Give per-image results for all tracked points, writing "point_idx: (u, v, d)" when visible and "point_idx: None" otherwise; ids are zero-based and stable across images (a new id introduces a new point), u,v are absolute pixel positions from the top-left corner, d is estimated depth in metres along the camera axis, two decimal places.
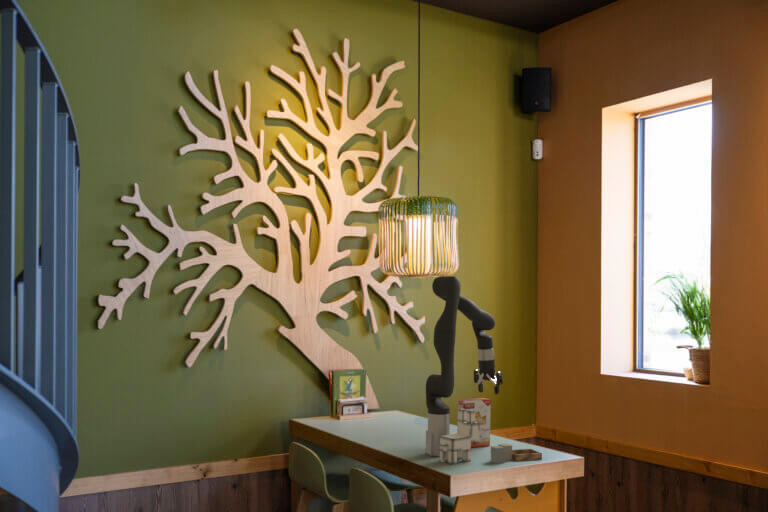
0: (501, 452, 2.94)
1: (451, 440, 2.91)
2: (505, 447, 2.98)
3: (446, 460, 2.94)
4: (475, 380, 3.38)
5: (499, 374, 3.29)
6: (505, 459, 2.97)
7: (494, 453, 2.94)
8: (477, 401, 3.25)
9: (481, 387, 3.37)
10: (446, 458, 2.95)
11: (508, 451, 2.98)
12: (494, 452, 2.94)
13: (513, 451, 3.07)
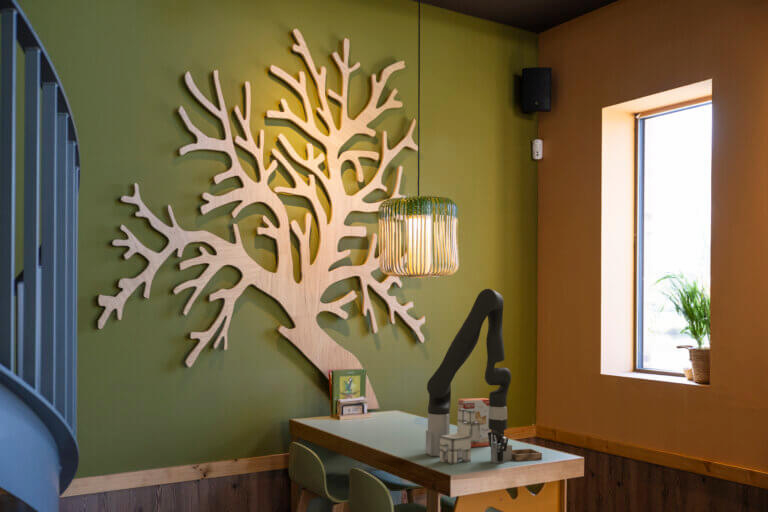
0: None
1: (451, 440, 2.91)
2: None
3: (446, 460, 2.94)
4: (490, 444, 2.99)
5: (504, 441, 2.90)
6: (505, 459, 2.97)
7: (494, 453, 2.94)
8: (477, 401, 3.25)
9: None
10: (446, 458, 2.95)
11: (508, 451, 2.98)
12: (494, 452, 2.94)
13: (513, 451, 3.07)
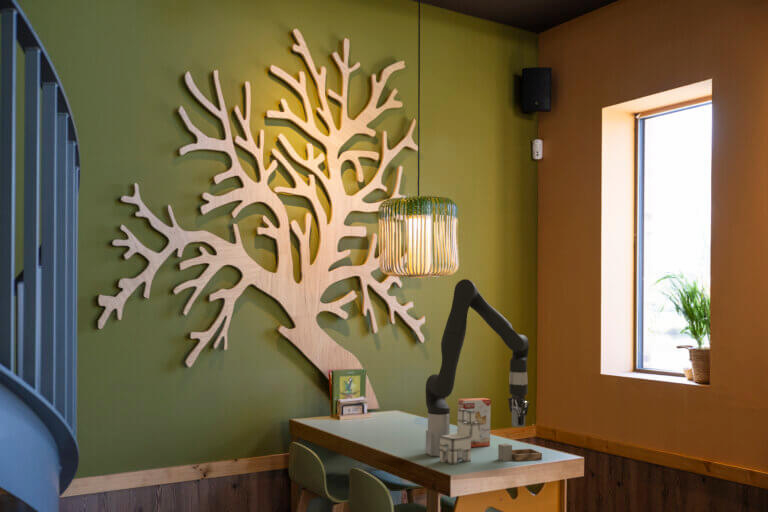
0: None
1: (451, 440, 2.91)
2: (505, 447, 2.98)
3: (446, 460, 2.94)
4: (510, 409, 3.07)
5: (525, 405, 2.98)
6: (505, 459, 2.97)
7: (515, 417, 3.02)
8: (477, 401, 3.25)
9: None
10: (446, 458, 2.95)
11: (508, 451, 2.98)
12: (515, 416, 3.02)
13: (513, 451, 3.07)
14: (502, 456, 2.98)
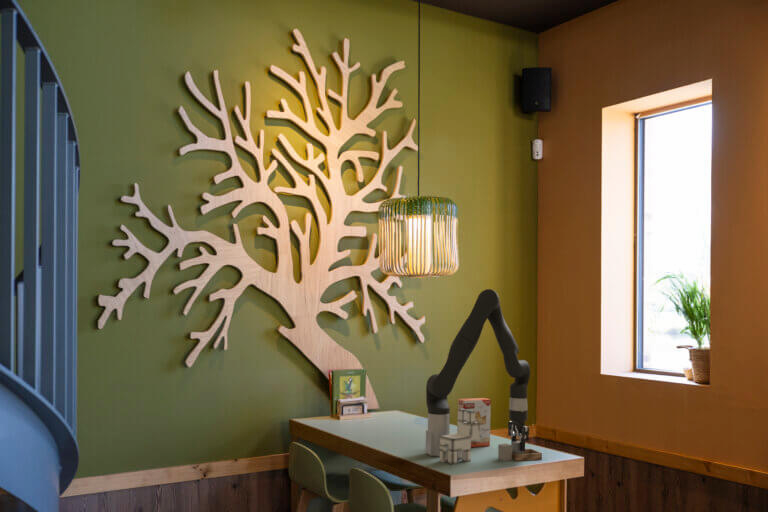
0: None
1: (451, 440, 2.91)
2: (505, 447, 2.98)
3: (446, 460, 2.94)
4: (509, 433, 3.08)
5: (525, 429, 2.97)
6: (505, 459, 2.97)
7: (515, 448, 3.01)
8: (477, 401, 3.25)
9: None
10: (446, 458, 2.95)
11: (508, 451, 2.98)
12: (515, 447, 3.01)
13: None
14: (502, 456, 2.98)
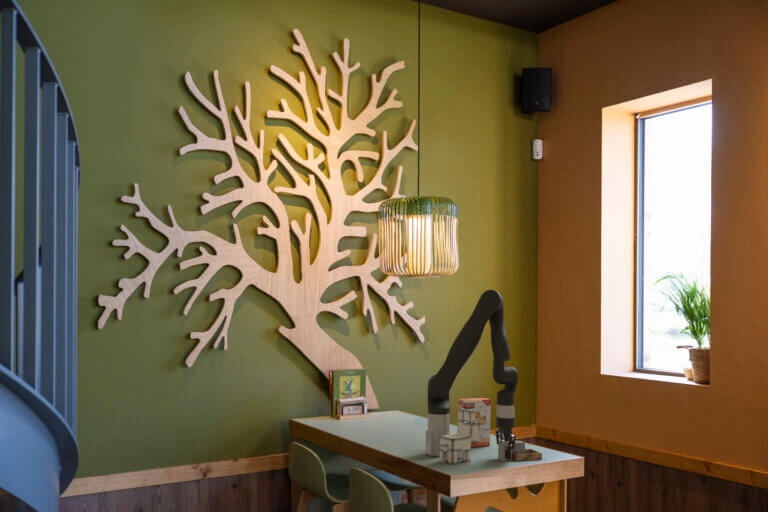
0: (522, 447, 3.01)
1: (451, 440, 2.91)
2: None
3: (446, 460, 2.94)
4: (497, 442, 3.04)
5: (512, 438, 2.94)
6: (505, 459, 2.97)
7: (515, 448, 3.01)
8: (477, 401, 3.25)
9: None
10: (446, 458, 2.95)
11: None
12: (515, 447, 3.01)
13: None
14: (502, 456, 2.98)
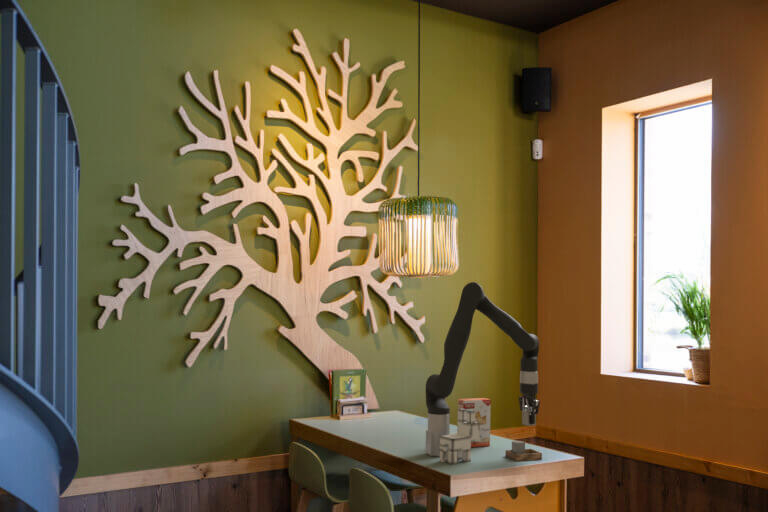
0: (522, 447, 3.01)
1: (451, 440, 2.91)
2: None
3: (446, 460, 2.94)
4: (521, 408, 3.09)
5: (536, 404, 2.99)
6: (529, 424, 3.03)
7: (515, 448, 3.01)
8: (477, 401, 3.25)
9: None
10: (446, 458, 2.95)
11: None
12: (515, 447, 3.01)
13: None
14: (526, 421, 3.04)
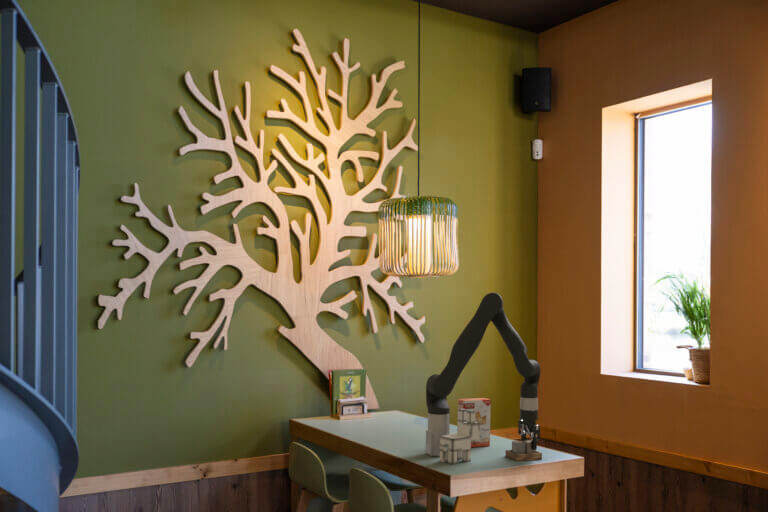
0: (522, 447, 3.01)
1: (451, 440, 2.91)
2: (528, 443, 3.02)
3: (446, 460, 2.94)
4: (519, 431, 3.10)
5: (536, 428, 2.98)
6: None
7: (515, 448, 3.01)
8: (477, 401, 3.25)
9: (524, 440, 3.08)
10: (446, 458, 2.95)
11: None
12: (515, 447, 3.01)
13: None
14: (525, 453, 3.03)
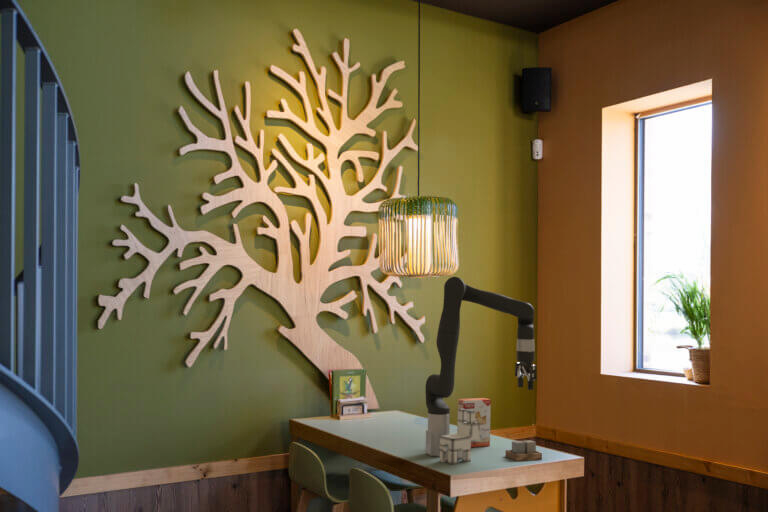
0: (522, 447, 3.01)
1: (451, 440, 2.91)
2: (528, 443, 3.02)
3: (446, 460, 2.94)
4: (515, 373, 3.14)
5: (533, 368, 3.03)
6: None
7: (515, 448, 3.01)
8: (477, 401, 3.25)
9: (520, 382, 3.12)
10: (446, 458, 2.95)
11: (532, 447, 3.03)
12: (515, 447, 3.01)
13: None
14: (525, 453, 3.03)
